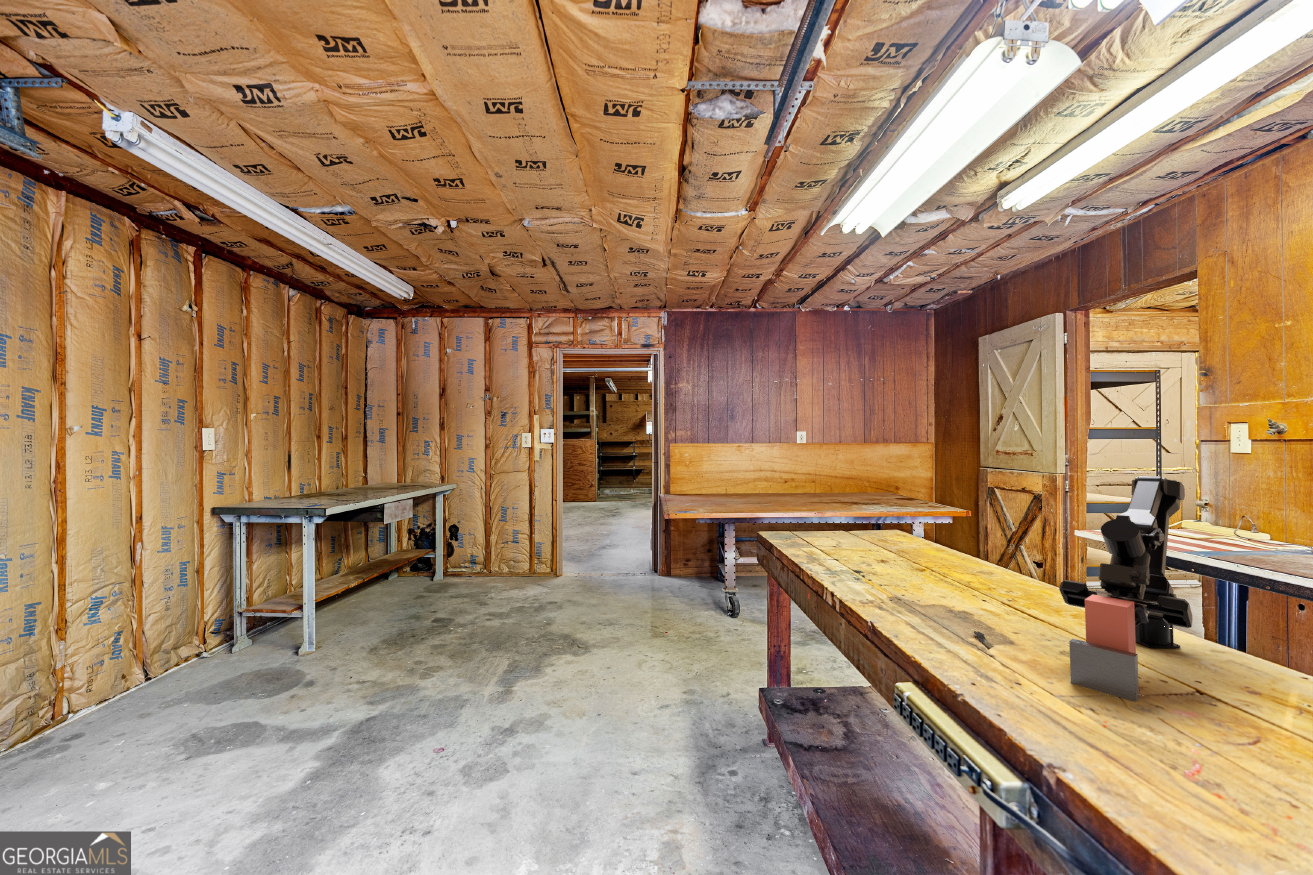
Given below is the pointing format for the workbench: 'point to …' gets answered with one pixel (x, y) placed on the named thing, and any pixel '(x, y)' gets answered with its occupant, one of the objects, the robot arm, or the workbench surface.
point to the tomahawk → (983, 639)
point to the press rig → (1104, 669)
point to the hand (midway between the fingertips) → (1114, 639)
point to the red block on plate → (1110, 622)
